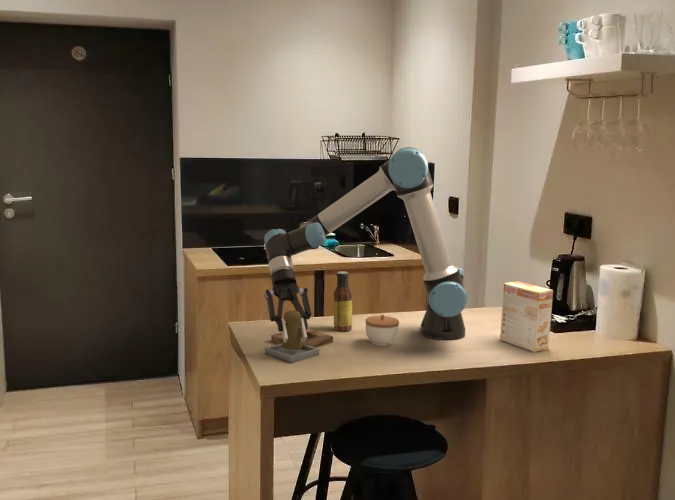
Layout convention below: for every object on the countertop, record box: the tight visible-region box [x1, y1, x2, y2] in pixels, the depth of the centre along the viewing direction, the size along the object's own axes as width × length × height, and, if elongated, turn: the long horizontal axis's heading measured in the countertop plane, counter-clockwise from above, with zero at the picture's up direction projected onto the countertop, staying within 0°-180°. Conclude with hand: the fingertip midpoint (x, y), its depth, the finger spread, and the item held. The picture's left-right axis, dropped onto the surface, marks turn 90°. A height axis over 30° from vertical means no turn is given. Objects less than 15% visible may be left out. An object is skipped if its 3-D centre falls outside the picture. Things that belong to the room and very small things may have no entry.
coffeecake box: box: [499, 281, 554, 353], centre depth 229 cm, size 15×7×20 cm, turn 33°
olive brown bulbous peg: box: [282, 310, 302, 350], centre depth 213 cm, size 6×6×11 cm
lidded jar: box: [365, 314, 400, 347], centre depth 227 cm, size 11×11×9 cm
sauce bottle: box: [333, 270, 353, 332], centre depth 240 cm, size 6×6×20 cm
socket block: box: [270, 327, 334, 350], centre depth 226 cm, size 14×14×2 cm
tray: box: [264, 343, 320, 364], centre depth 214 cm, size 12×12×2 cm
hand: (295, 339), depth 209 cm, fingers closed on olive brown bulbous peg, 5 cm apart
